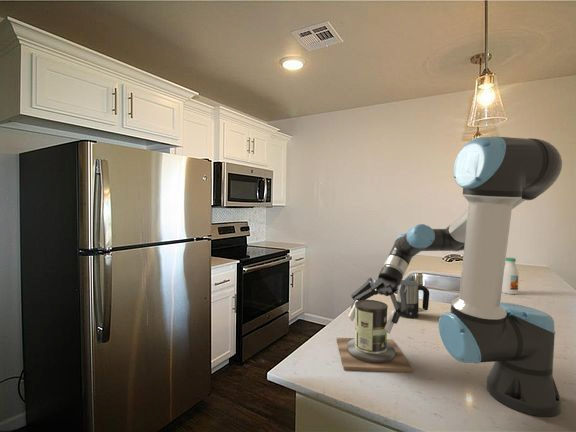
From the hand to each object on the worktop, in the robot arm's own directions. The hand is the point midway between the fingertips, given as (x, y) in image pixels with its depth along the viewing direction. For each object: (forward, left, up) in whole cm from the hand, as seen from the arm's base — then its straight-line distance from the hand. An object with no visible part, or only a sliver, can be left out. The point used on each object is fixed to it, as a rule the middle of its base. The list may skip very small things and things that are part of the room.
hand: (367, 324), depth 99 cm
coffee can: (+2, -1, -8) cm, 8 cm away
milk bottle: (+81, -96, -11) cm, 127 cm away
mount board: (+1, -1, -10) cm, 11 cm away
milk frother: (+44, -27, -11) cm, 53 cm away
